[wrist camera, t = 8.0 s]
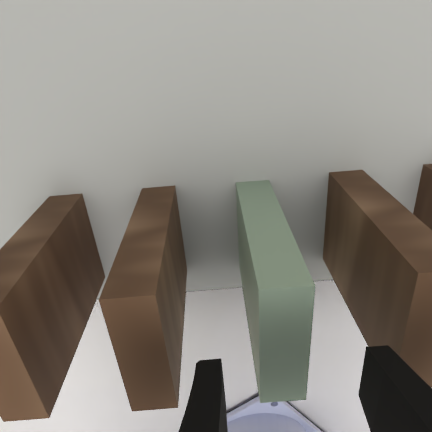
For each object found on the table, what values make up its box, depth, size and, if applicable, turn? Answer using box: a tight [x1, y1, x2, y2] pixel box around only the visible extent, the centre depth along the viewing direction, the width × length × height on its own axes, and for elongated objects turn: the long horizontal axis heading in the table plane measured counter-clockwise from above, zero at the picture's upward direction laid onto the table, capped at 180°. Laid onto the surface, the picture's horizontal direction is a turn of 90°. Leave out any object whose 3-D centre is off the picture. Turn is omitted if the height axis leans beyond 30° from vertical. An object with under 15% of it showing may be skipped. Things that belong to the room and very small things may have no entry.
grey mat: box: [0, 0, 432, 299], centre depth 17 cm, size 32×16×1 cm, turn 94°
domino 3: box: [323, 170, 432, 387], centre depth 15 cm, size 2×5×8 cm, turn 5°
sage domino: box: [236, 180, 315, 403], centre depth 15 cm, size 2×5×8 cm, turn 4°
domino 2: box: [99, 185, 187, 411], centre depth 15 cm, size 2×5×8 cm, turn 4°
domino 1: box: [0, 193, 105, 422], centre depth 15 cm, size 2×5×8 cm, turn 5°
